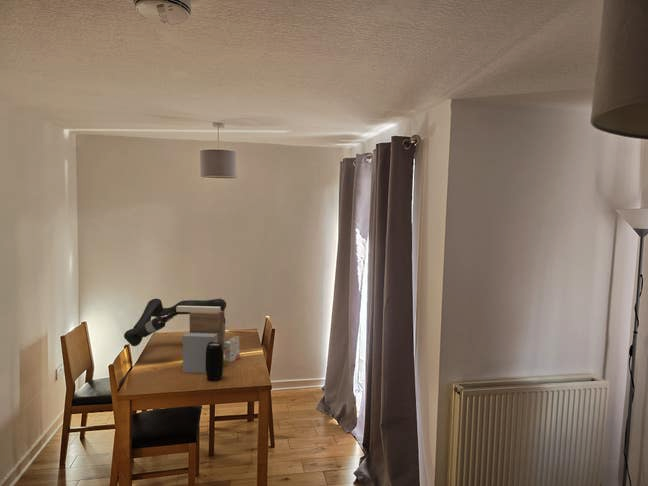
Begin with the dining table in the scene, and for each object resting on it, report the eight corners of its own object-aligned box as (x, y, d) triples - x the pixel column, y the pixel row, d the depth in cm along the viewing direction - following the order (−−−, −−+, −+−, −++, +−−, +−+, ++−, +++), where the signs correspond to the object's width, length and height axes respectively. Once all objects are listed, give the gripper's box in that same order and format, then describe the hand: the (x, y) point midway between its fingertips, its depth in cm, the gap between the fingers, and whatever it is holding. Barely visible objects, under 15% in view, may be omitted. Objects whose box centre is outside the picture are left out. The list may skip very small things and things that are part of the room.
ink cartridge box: (233, 357, 273) (233, 334, 272) (239, 358, 270) (239, 335, 269) (224, 360, 266) (224, 337, 265) (230, 362, 263) (229, 338, 262)
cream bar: (178, 310, 259) (178, 305, 259) (220, 311, 257) (220, 306, 257) (176, 311, 256) (176, 306, 256) (218, 312, 254) (218, 307, 254)
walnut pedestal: (195, 361, 263) (194, 310, 261) (223, 363, 261) (223, 310, 259) (189, 366, 255) (189, 312, 253) (219, 367, 253) (219, 313, 251)
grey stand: (187, 368, 252) (187, 332, 250) (217, 369, 250) (217, 333, 249) (183, 372, 245) (182, 335, 244) (213, 373, 243) (213, 336, 242)
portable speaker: (205, 376, 238) (204, 342, 237) (222, 375, 241) (222, 340, 240) (206, 382, 230) (206, 346, 229) (224, 380, 233) (224, 344, 232)
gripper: (146, 322, 252) (169, 309, 251) (157, 316, 266) (179, 304, 265) (152, 333, 252) (175, 320, 251) (163, 327, 266) (185, 314, 265)
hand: (177, 312), depth 258 cm, fingers open, 8 cm apart
